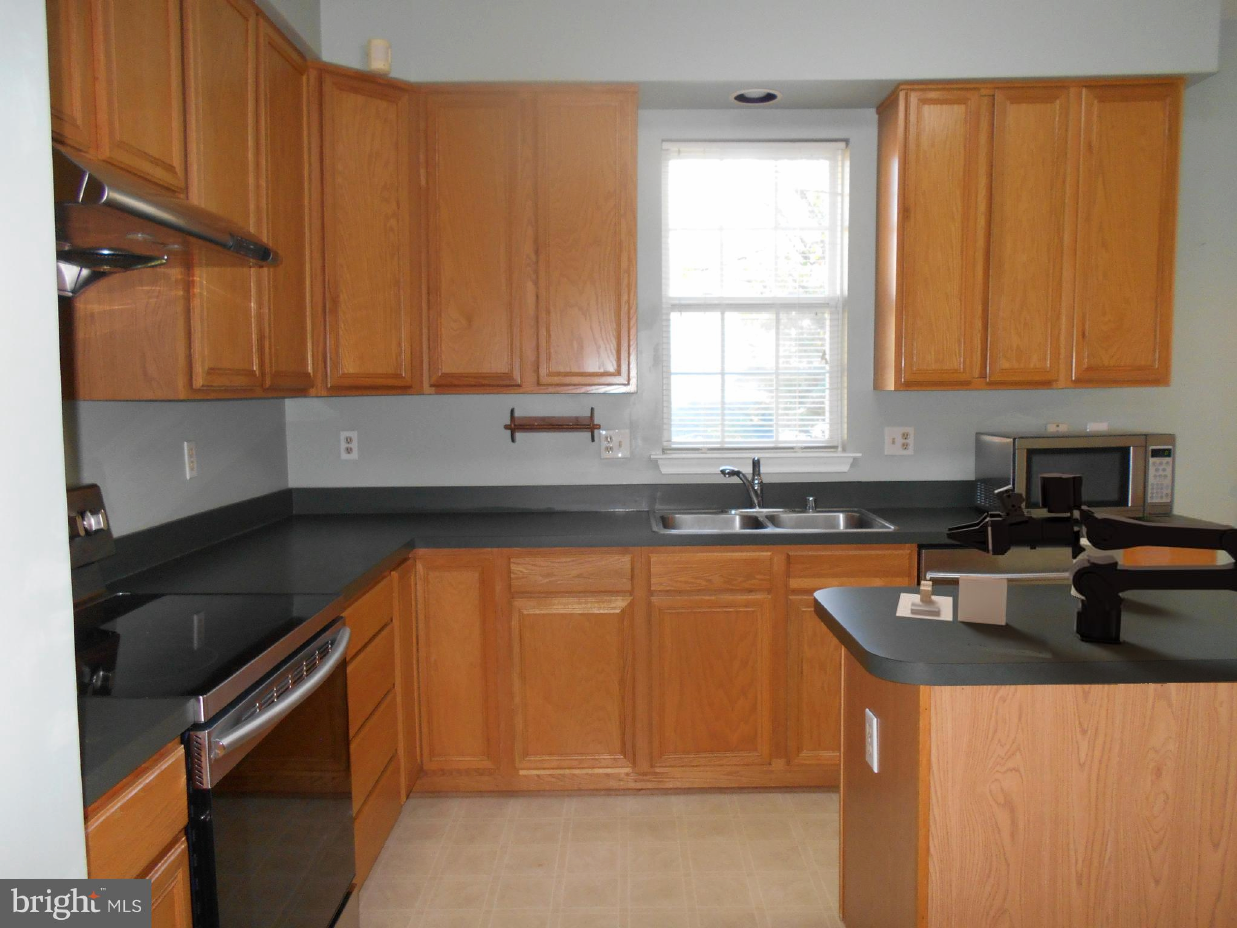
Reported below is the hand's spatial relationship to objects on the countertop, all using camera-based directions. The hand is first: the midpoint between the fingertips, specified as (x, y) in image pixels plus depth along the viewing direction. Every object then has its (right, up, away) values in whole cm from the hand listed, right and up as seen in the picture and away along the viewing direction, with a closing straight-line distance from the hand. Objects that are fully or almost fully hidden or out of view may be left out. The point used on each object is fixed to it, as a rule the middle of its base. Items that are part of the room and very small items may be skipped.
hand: (947, 533), depth 158 cm
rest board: (0, -16, +10) cm, 19 cm away
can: (+39, -15, +20) cm, 46 cm away
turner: (-1, -15, +10) cm, 18 cm away
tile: (+6, -17, 0) cm, 18 cm away
